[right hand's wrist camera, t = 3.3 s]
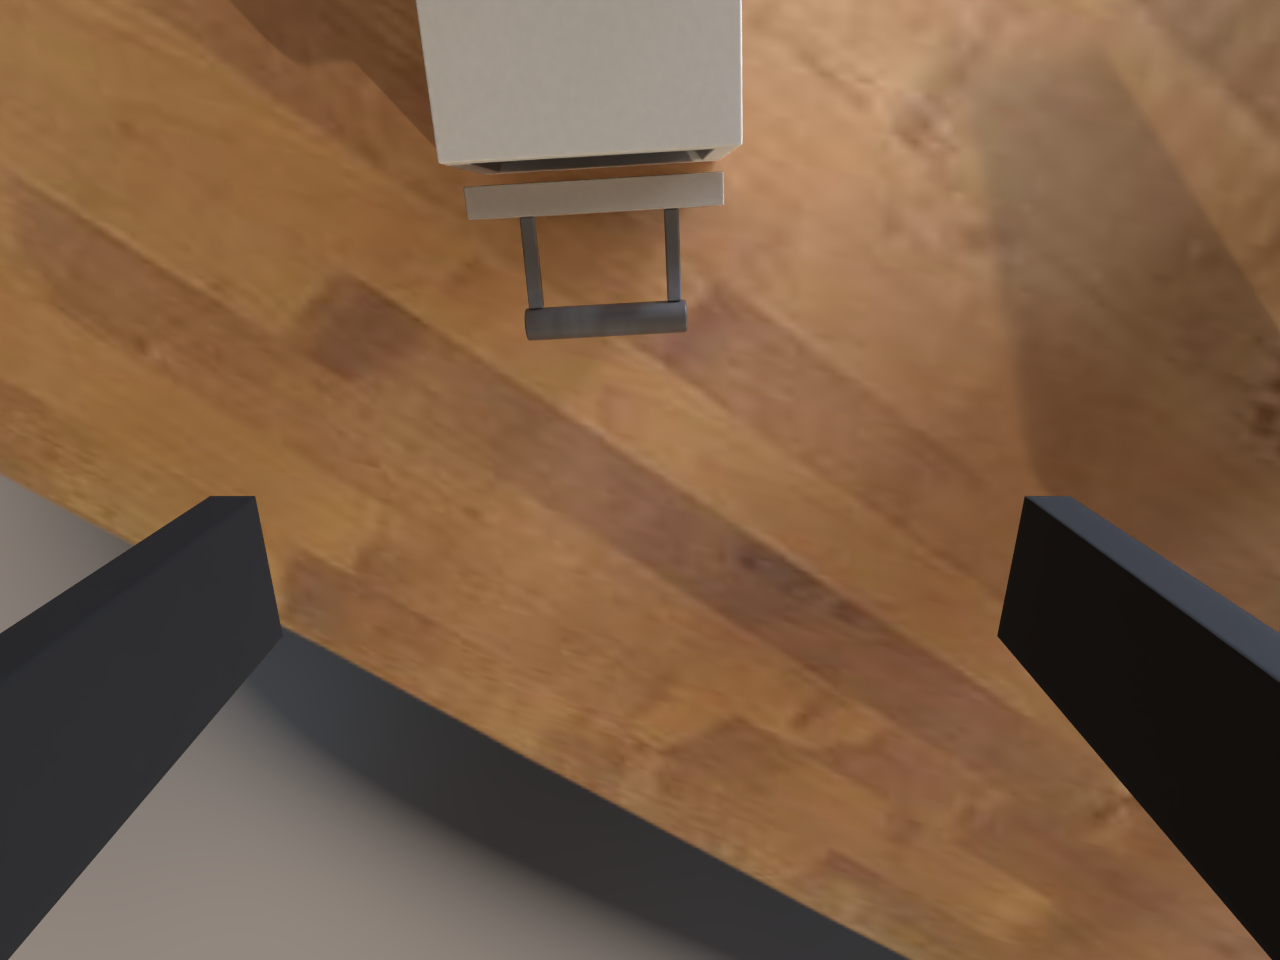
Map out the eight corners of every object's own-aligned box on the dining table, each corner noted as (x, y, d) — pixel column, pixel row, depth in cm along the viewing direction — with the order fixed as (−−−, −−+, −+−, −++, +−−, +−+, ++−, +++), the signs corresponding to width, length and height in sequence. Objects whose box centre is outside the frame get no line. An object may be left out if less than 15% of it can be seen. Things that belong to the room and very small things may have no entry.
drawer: (712, 319, 36) (725, 340, 30) (510, 330, 36) (484, 352, 30) (698, -358, 27) (714, -517, 21) (433, -338, 27) (375, -489, 21)
